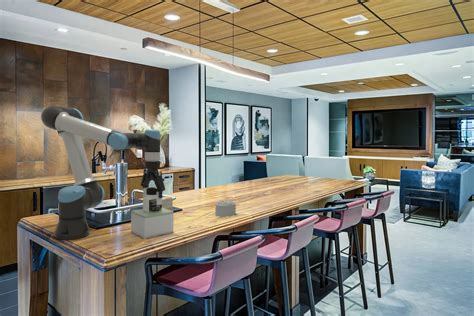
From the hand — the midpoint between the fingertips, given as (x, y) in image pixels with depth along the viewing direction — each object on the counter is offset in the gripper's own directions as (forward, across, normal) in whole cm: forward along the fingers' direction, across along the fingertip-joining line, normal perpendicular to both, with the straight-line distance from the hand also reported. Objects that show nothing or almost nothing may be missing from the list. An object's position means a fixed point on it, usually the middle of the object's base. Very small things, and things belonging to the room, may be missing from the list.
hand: (152, 202), depth 171 cm
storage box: (+16, 0, 0) cm, 16 cm away
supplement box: (+16, +18, -18) cm, 30 cm away
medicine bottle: (+5, 0, 0) cm, 5 cm away
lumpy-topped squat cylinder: (+16, +6, -54) cm, 57 cm away
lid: (+5, 0, 0) cm, 5 cm away
